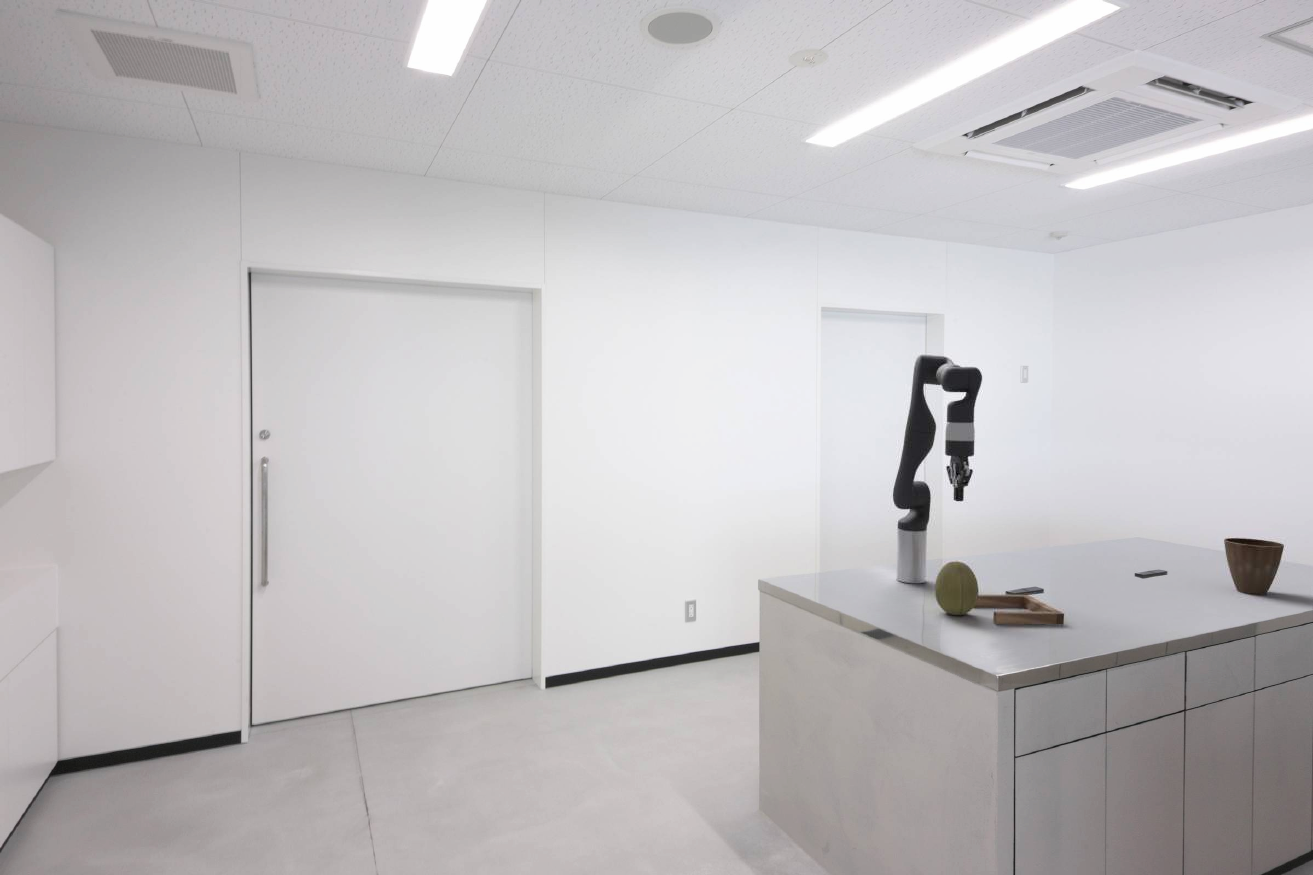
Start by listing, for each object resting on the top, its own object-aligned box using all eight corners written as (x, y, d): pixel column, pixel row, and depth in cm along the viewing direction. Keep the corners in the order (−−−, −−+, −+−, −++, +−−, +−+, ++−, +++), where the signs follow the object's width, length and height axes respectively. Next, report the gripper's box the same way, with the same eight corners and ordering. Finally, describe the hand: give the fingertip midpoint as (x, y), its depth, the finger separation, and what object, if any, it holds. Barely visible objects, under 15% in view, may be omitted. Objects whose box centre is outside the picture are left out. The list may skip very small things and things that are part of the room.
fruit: (967, 608, 220) (968, 557, 219) (985, 619, 208) (986, 565, 208) (928, 608, 219) (929, 557, 218) (943, 619, 208) (945, 565, 207)
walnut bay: (966, 604, 224) (966, 594, 224) (1027, 604, 224) (1027, 594, 224) (996, 624, 204) (997, 613, 204) (1063, 624, 204) (1064, 613, 204)
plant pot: (1219, 584, 250) (1221, 536, 250) (1277, 590, 243) (1279, 540, 242) (1225, 594, 238) (1227, 543, 237) (1286, 600, 230) (1288, 548, 229)
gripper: (983, 440, 205) (982, 504, 206) (963, 437, 218) (962, 497, 219) (955, 440, 205) (954, 504, 206) (937, 437, 218) (936, 497, 219)
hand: (958, 500), depth 212 cm, fingers closed
